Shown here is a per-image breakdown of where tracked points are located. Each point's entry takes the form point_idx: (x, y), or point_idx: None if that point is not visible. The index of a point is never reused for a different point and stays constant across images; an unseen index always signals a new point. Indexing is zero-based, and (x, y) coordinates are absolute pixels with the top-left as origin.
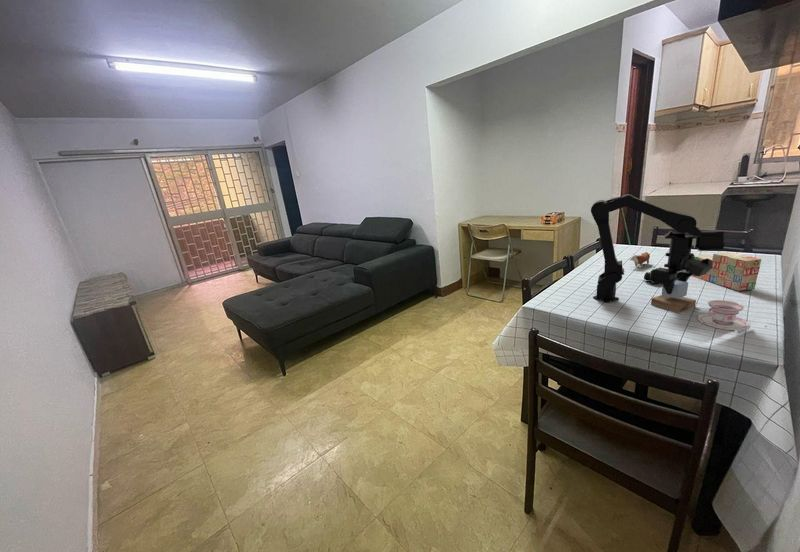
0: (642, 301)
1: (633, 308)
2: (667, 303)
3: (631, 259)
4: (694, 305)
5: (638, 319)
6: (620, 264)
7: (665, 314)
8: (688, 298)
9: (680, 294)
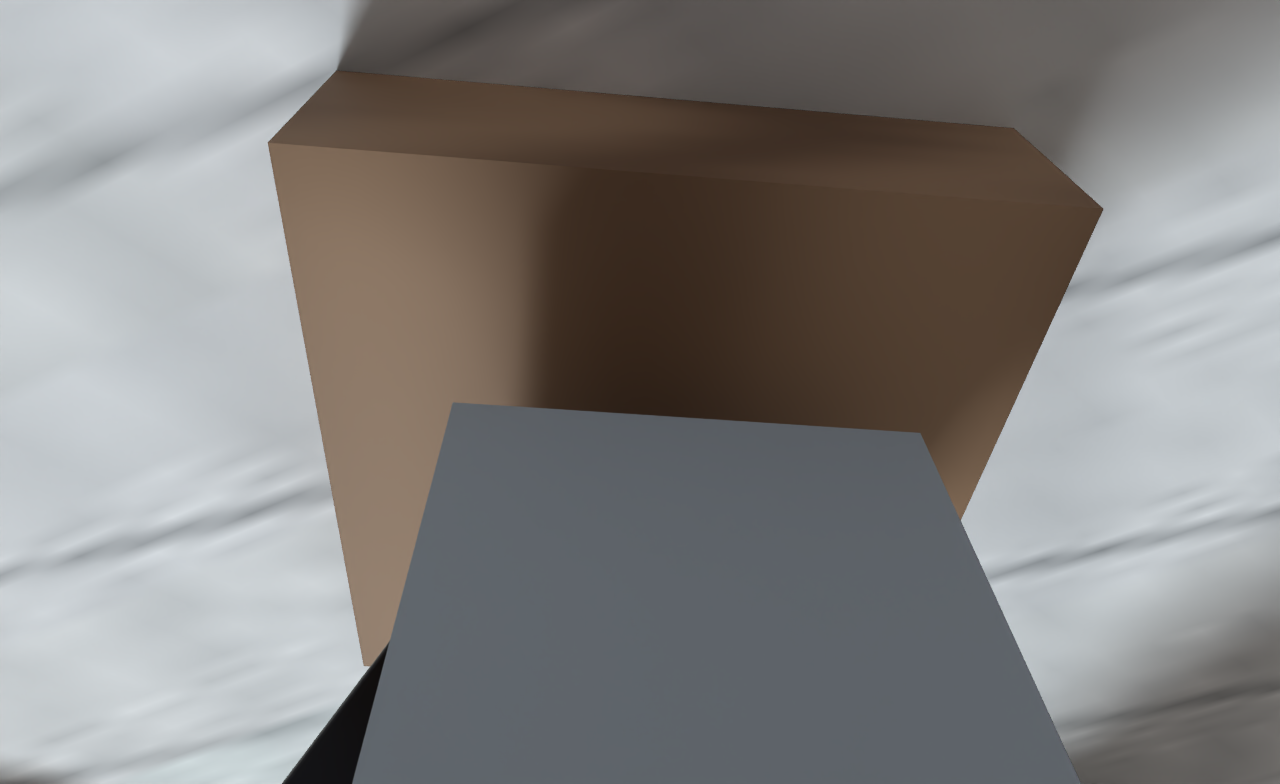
0: None
1: (1188, 616)
2: (985, 438)
3: None
4: (358, 88)
5: None
6: None
7: (1271, 234)
8: (321, 323)
9: (796, 501)
